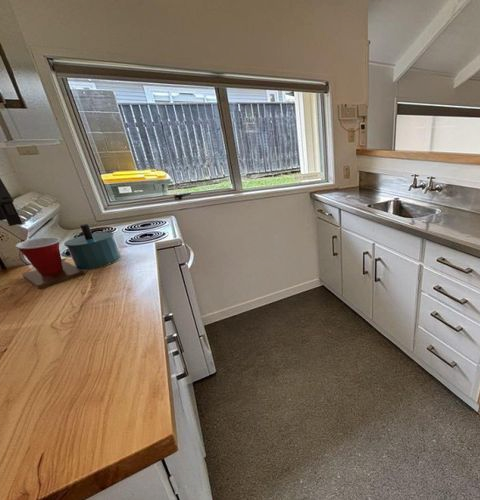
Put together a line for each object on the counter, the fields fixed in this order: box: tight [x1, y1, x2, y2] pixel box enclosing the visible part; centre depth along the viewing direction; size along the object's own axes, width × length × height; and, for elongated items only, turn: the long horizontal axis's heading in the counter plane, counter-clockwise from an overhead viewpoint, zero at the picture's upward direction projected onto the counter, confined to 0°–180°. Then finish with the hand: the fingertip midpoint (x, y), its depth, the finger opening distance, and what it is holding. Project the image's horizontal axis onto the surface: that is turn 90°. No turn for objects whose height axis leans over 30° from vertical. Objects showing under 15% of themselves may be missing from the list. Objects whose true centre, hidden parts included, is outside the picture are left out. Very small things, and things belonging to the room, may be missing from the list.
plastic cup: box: [14, 236, 63, 276], centre depth 100 cm, size 11×11×12 cm
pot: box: [66, 236, 121, 271], centre depth 111 cm, size 14×14×10 cm
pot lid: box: [63, 223, 115, 248], centre depth 108 cm, size 15×15×7 cm
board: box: [21, 261, 86, 290], centre depth 102 cm, size 12×18×2 cm, turn 59°
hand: (9, 222), depth 91 cm, fingers open, 13 cm apart
